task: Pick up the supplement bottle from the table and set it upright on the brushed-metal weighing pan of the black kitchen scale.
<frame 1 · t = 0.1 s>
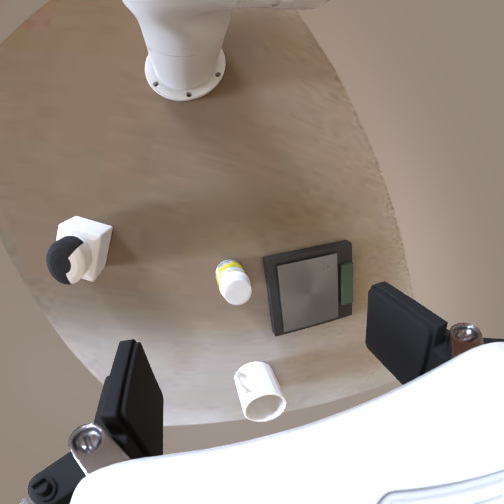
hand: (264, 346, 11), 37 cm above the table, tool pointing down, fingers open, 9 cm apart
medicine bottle: (90, 241, 43), on the table
mug: (248, 370, 56), on the table
scale pan: (309, 293, 51), point 2 cm above the table, slide at -0.3 cm
scale: (309, 286, 53), on the table
supplement bottle: (229, 272, 49), on the table
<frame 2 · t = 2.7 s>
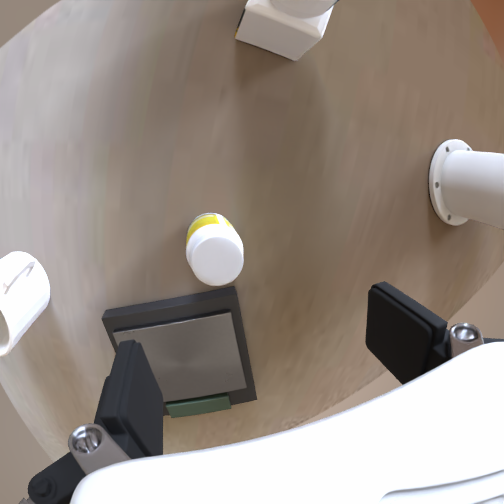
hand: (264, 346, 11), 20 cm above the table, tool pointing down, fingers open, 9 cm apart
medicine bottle: (274, 27, 24), on the table
mug: (32, 273, 27), on the table
scale pan: (182, 362, 30), point 2 cm above the table, slide at -0.3 cm
scale: (184, 356, 33), on the table
supplement bottle: (210, 235, 30), on the table
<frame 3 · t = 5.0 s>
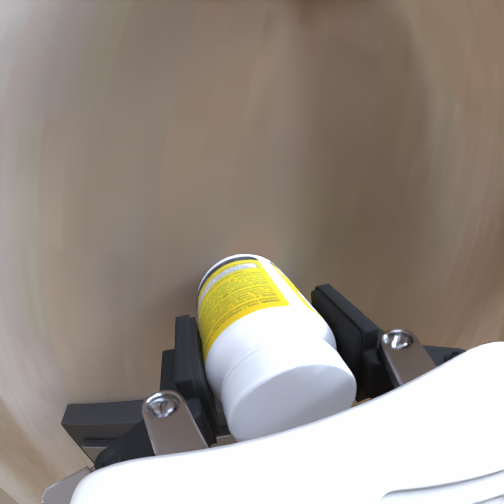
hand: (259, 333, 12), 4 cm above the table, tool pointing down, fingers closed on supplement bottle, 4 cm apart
scale pan: (196, 477, 16), point 2 cm above the table, slide at -0.3 cm
scale: (197, 459, 19), on the table
supplement bottle: (242, 294, 15), on the table, touching gripper
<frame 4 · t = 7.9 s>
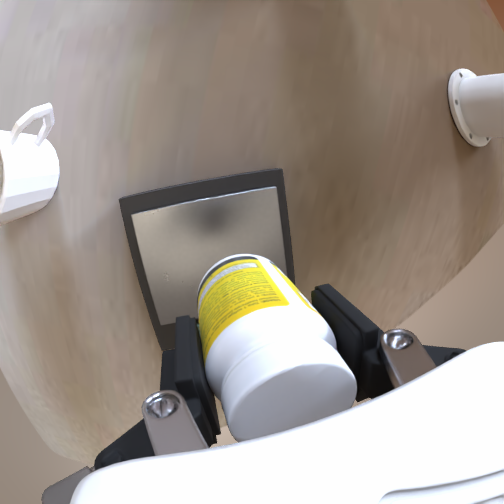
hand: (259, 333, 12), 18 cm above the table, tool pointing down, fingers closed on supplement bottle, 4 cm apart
mug: (41, 160, 22), on the table
scale pan: (214, 258, 26), point 2 cm above the table, slide at -0.3 cm
scale: (214, 260, 29), on the table
supplement bottle: (242, 294, 15), point 14 cm above the table, touching gripper
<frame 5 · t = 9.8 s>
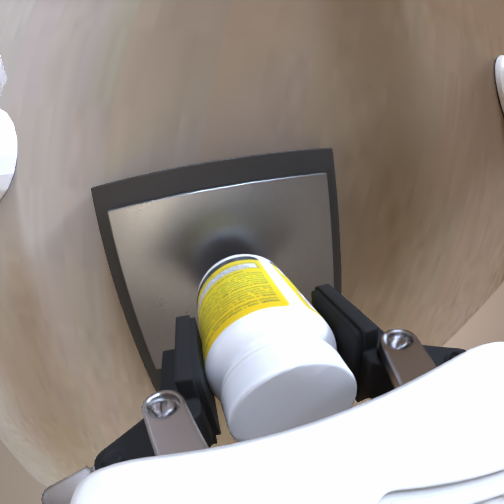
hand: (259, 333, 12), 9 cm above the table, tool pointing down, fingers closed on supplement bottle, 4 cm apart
scale pan: (233, 277, 18), point 2 cm above the table, slide at -0.3 cm
scale: (230, 277, 20), on the table
supplement bottle: (241, 294, 15), point 5 cm above the table, touching gripper
when the fingers open (7 cm above the table, at t = 11.0 s): supplement bottle stays where it is, resting on scale pan.
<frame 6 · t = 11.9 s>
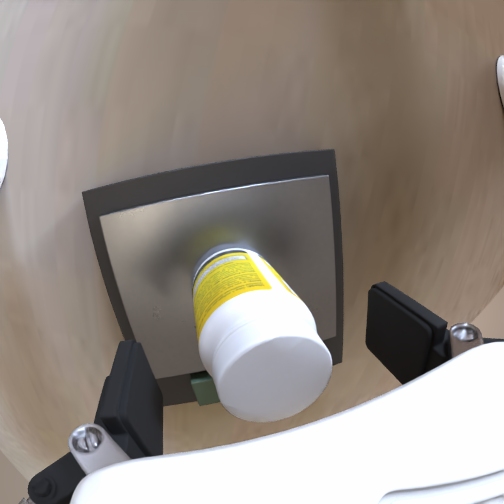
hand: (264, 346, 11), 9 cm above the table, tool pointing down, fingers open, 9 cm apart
scale pan: (231, 285, 17), point 2 cm above the table, slide at -0.4 cm, touching supplement bottle
scale: (228, 284, 20), on the table
supplement bottle: (233, 285, 17), point 3 cm above the table, touching scale pan
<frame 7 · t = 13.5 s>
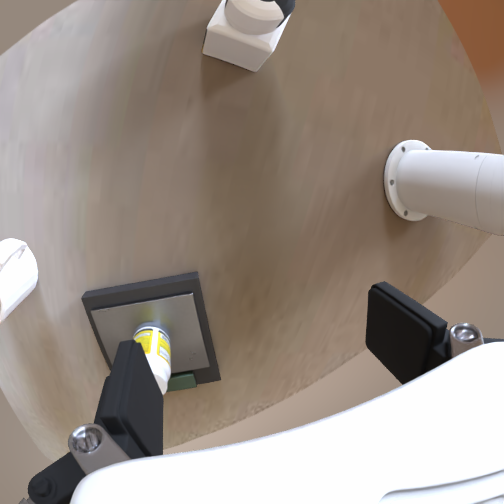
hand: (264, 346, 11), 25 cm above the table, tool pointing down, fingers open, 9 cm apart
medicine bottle: (238, 41, 29), on the table
mug: (22, 258, 29), on the table
scale pan: (151, 340, 34), point 2 cm above the table, slide at -0.4 cm, touching supplement bottle
scale: (154, 336, 36), on the table
supplement bottle: (151, 340, 33), point 3 cm above the table, touching scale pan
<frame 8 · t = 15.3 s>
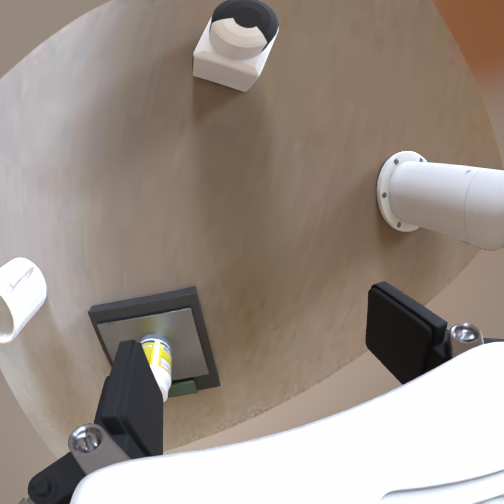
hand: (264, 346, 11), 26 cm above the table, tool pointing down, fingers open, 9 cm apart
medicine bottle: (228, 61, 30), on the table
mug: (31, 275, 32), on the table
scale pan: (154, 350, 36), point 2 cm above the table, slide at -0.4 cm, touching supplement bottle
scale: (157, 346, 39), on the table
supplement bottle: (154, 351, 36), point 3 cm above the table, touching scale pan
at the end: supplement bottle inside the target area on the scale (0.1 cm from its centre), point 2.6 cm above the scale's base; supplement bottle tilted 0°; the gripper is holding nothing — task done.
